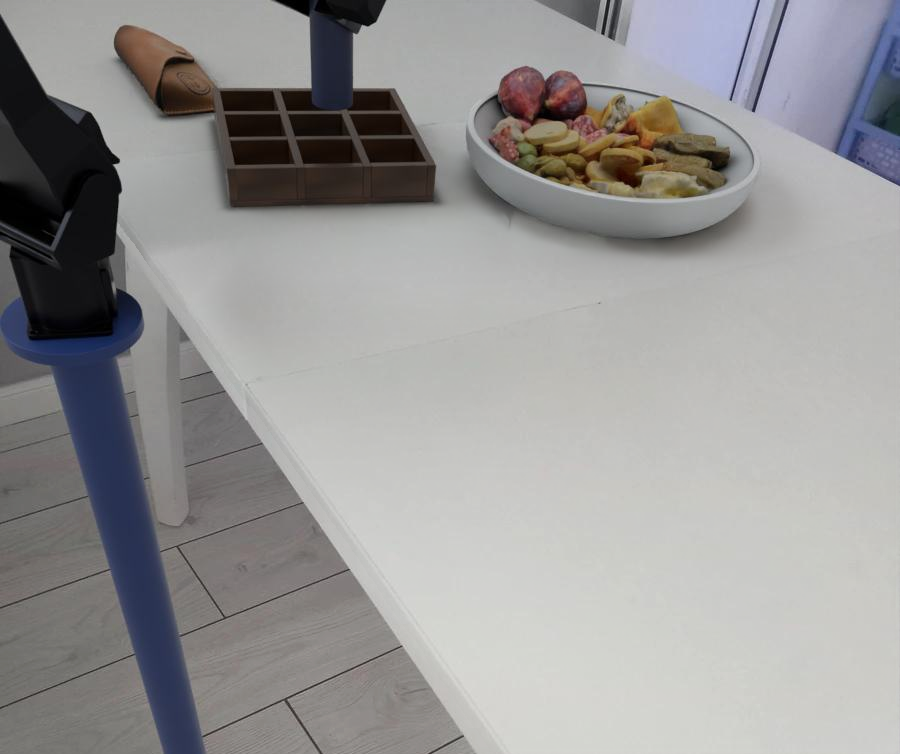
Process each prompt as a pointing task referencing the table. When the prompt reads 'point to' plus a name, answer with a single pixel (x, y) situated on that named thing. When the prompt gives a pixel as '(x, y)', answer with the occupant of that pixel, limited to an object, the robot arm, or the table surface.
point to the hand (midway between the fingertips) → (340, 23)
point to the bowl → (608, 156)
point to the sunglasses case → (165, 71)
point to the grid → (319, 148)
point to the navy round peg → (330, 63)
